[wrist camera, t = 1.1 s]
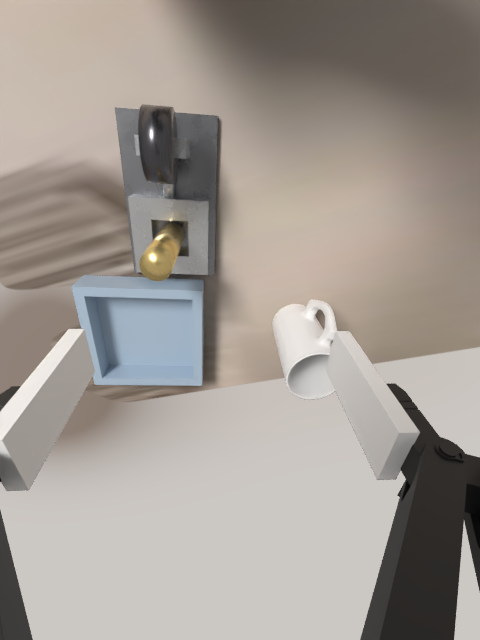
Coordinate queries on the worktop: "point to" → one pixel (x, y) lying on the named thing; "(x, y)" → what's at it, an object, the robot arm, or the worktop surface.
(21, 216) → the worktop surface
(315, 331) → the mug
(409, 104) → the worktop surface
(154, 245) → the pin
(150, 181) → the tensioner
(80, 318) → the tray
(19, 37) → the worktop surface
